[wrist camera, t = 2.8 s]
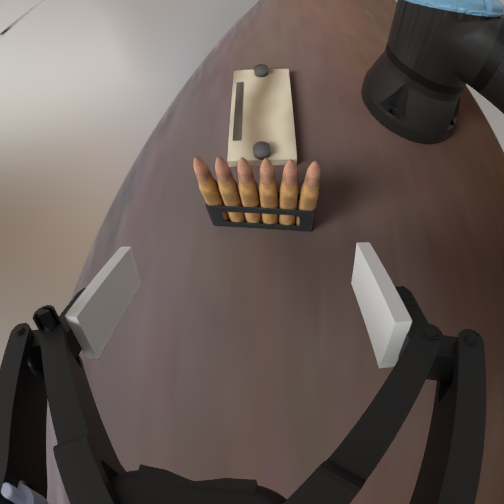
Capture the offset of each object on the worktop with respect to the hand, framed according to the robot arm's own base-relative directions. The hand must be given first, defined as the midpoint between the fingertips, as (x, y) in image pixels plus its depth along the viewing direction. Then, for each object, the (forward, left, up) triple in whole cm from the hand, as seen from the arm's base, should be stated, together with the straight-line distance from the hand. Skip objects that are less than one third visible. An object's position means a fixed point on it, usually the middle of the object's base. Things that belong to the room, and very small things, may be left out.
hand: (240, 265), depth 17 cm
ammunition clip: (-1, -8, -14) cm, 16 cm away
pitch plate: (-1, -24, -14) cm, 28 cm away
